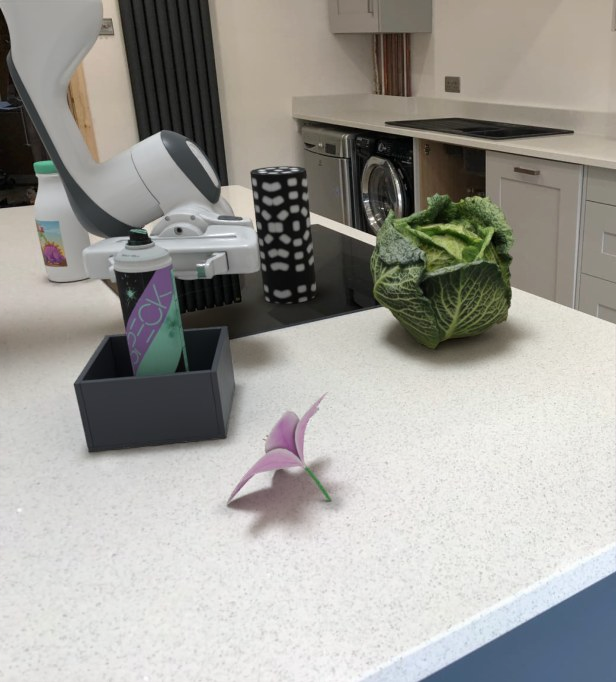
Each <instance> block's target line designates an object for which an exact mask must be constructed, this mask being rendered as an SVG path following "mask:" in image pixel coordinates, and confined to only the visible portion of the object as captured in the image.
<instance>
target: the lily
mask: <svg viewBox="0 0 616 682" xmlns="http://www.w3.org/2000/svg"><path fill="white" fill-rule="evenodd" d="M328 393H329V391H327V392H325V393H324V394H323V395H321V396H320V397H319V398H318V399H317V400H316V401H315V402H314V403H313V404H312V405H311V406H310V407H309V408H308V409H307V410H306V412H305V413H304V414H303V415H302V416H301V418H299V415H298V414H297V413H295V412H294V411H292V410H287V411H286V412H284V413H283V414H282V415H281V416H280V417H279V418H278V420H277V421H276V423H274V425H273V427H272V428H271V429H270V432H269V433H268V434H267V435H266V436H265V437H266V438H262V440H263V441H265V443H264V452H265V453H264V455H262V456H261V458H259V459H258V460H257V461H256V462H255V463H254V464H253V465H252V466H251V467H250V468H249V469H248V471H247V472H246V473H245V474H244V475H243V476H242V478H241V479H240V481H239V482H238V483H237V485H236V486H235V487H234V488H233V491H232V492H231V494H230V496H229V497H228V499H227V501H226V505H228V504H229V503H230V502H231V501H232V500H233V499H234V498H235V496H236V495H237V494H238V493H239V492H240V491H241V489H242V488H243V487H244V486H245V485H246V484H247V483H248V482H249V481H250V480H251V479H252V478H253V477H254V476H255V475H257V474H260V473H266V472H271V471H277V470H283V469H289V468H294V467H295V468H297V467H301V468H303V469H304V470H305V472H307V474H308V475H309V476H310V477H311V479H312V480H313V481H314V483H315V484H316V485H317V487H318V488H319V490H320V491H321V493H322V494H323V495H324V497H325V498H326V500H327V501H328V502H329V501H331V500H332V498H331V496H330V495H329V494H328V492H327V490H326V489H325V488H324V486H323V485H322V484H321V482H320V480H319V479H318V477H316V475H315V474H314V473H313V472H312V470H311V469H310V468H309V467H308V465H307V464H306V463H305V457H304V447H305V446H304V444H305V443H304V442H305V434H306V429H307V425H308V423H309V420H310V419H311V418H312V417H313V416H314V415H315V414H317V412H319V411H320V407H318V406H319V405H320V403H321V402H322V400H323V399H325V397H326V396H327V395H328Z"/></svg>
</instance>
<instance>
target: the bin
mask: <svg viewBox="0 0 616 682" xmlns="http://www.w3.org/2000/svg"><path fill="white" fill-rule="evenodd" d="M228 327H229V326H227V325H222V326H209V327H196V328H184V329H183V328H182V329H183V336H184V342H185V348H186V355H187V361H188V368H189V372H179V373H168V374H156V375H145V376H134V374H133V368H132V363H131V357H130V352H129V347H128V341H127V336H126V333H119V334H118V333H117V334H116V333H115V334H105V336H104V337H103V338H102V339H101V341H100V343H99V345H98V346H97V347H96V349H95V351H94V352H93V353H92V354H91V356H90V358H89V360H88V361H87V363H86V364H85V365H84V367H83V368H82V370H81V372H80V373H79V375H78V376H77V378H76V380H75V381H74V383H73V388H74V392H75V393H74V394H75V397H76V402H77V407H78V411H79V415H80V420H81V425H82V428H83V433H84V438H85V443H86V447H87V450H88V453H93V452H102V451H112V450H120V449H133V448H141V447H150V446H151V447H152V446H162V445H169V444H170V445H171V444H180V443H181V444H182V443H189V442H191V443H192V442H198V441H199V442H200V441H209V440H217V439H218V440H220V439H227V434H228V428H229V422H230V418H231V411H232V404H233V399H234V393H235V387H236V381H235V373H234V365H233V359H232V358H233V356H232V350H231V343H230V337H229V336H230V334H229V328H228Z"/></svg>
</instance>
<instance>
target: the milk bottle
mask: <svg viewBox="0 0 616 682" xmlns="http://www.w3.org/2000/svg"><path fill="white" fill-rule="evenodd" d="M33 169H34V172H35V177H36V178H37V183H38V185H37V192H36V195H35V199H34V205H33V214H34V215H33V216H34V221H35V227H36V232H37V237H38V241H39V246H40V250H41V253H42V254H41V255H42V259H43V264H44V269H45V272H46V276H47V278H48V279H49V281H51V282H57V283H64V282H65V283H66V282H67V283H68V282H75V281H81V280H85V279H89V277H88V276H87V274H86V271H85V268H84V263H83V256H82V253H83V250H84V249H85V248H87V247H89V246H91V245H92V244H91V239H90V233H89V232H88V231H86V230H85V229H84V228H83V226H82V225H81V224H80V223H79V221H78V220H77V218H76V216H75V214H74V212H73V210H72V208H71V206H70V203H69V200H68V198H67V195H66V192H65V189H64V186H63V184H62V181H61V179H60V177H59V174H58V172H57V170H56V168H55V166H54V164H53V162H52V160H43V161H42V160H41V161H36V162H34V163H33Z"/></svg>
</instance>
